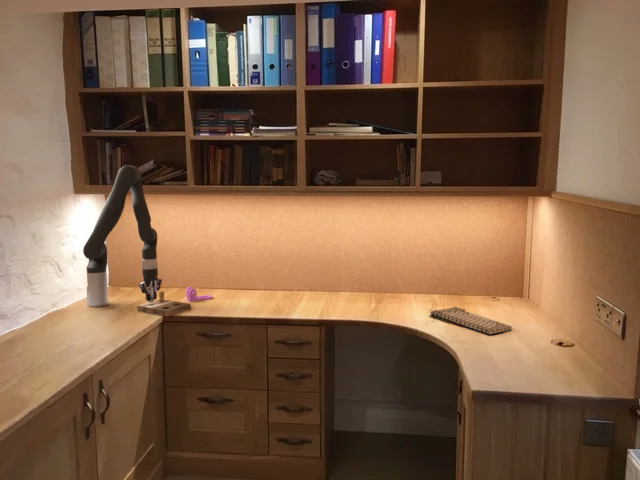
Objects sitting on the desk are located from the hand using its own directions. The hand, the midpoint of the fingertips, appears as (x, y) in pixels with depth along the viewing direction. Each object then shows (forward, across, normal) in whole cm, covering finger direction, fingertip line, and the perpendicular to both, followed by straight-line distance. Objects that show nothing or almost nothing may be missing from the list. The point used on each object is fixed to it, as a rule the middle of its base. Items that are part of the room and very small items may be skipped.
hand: (151, 300), depth 275 cm
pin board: (+2, +5, +14) cm, 15 cm away
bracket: (+3, -20, +15) cm, 25 cm away
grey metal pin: (+2, 0, 0) cm, 2 cm away
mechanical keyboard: (+3, -47, +151) cm, 158 cm away
